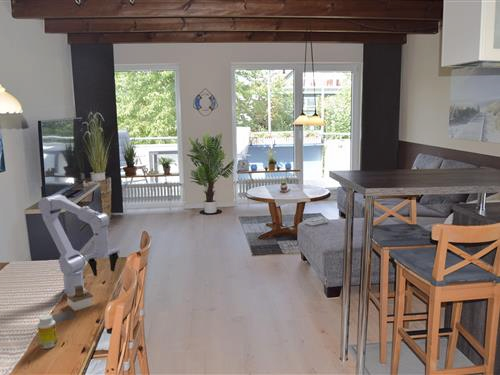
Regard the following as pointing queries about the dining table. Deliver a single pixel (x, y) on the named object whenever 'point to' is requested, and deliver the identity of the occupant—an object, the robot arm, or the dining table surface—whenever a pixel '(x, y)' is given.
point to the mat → (63, 316)
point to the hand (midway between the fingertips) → (104, 273)
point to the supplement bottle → (47, 332)
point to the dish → (80, 303)
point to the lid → (79, 294)
